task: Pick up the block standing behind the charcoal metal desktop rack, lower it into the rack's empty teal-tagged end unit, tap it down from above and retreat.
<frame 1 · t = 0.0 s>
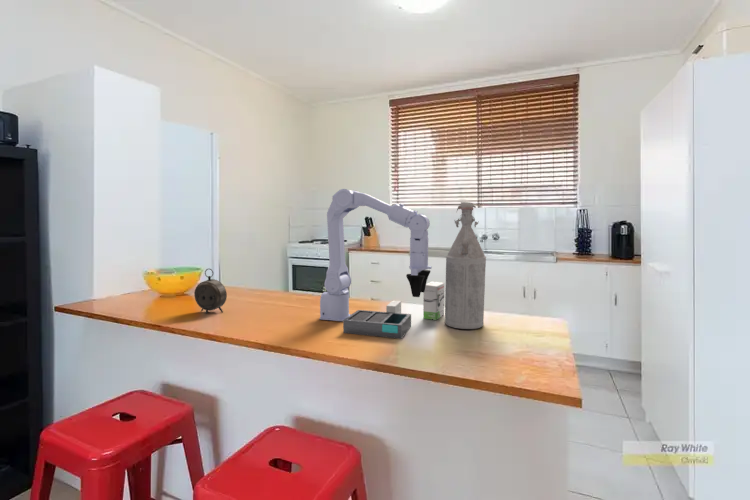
hand: (418, 294, 125), 10 cm above the countertop, fingers open, 7 cm apart
rack: (378, 329, 122), on the countertop
ink box: (433, 317, 137), on the countertop
block: (393, 320, 132), on the countertop
grey bottle: (464, 324, 128), on the countertop
alarm clock: (210, 313, 143), on the countertop
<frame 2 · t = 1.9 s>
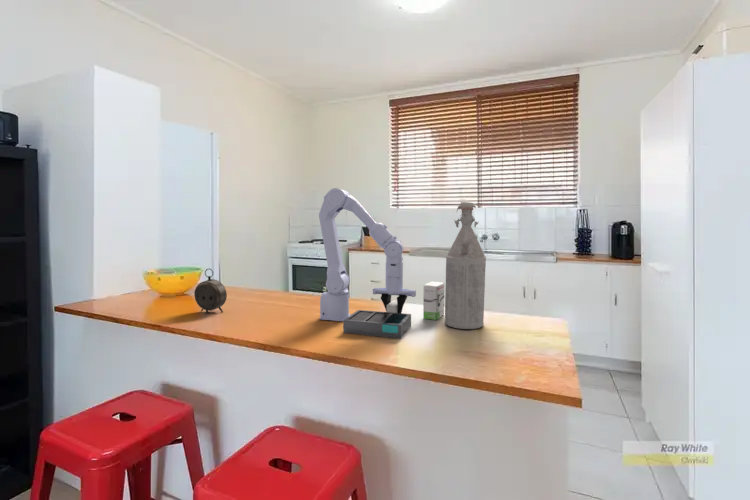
hand: (394, 316, 132), 1 cm above the countertop, fingers closed on block, 3 cm apart
block: (394, 320, 132), on the countertop, touching gripper
everything else where it was.
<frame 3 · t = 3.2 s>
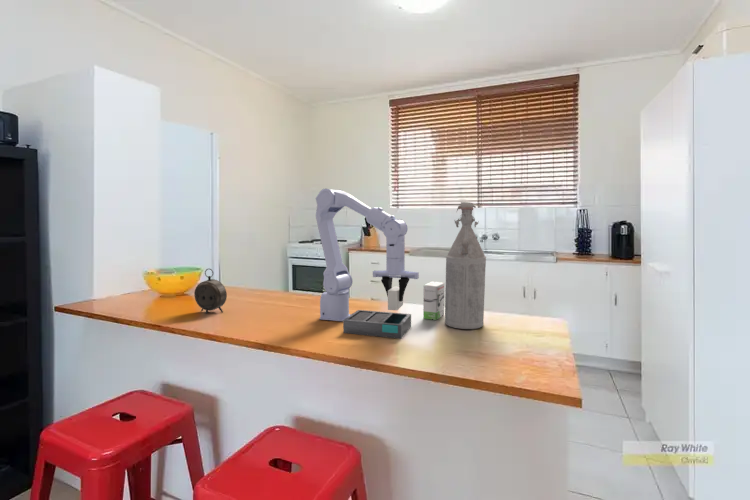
hand: (395, 300, 124), 8 cm above the countertop, fingers closed on block, 3 cm apart
block: (395, 307, 125), point 6 cm above the countertop, touching gripper
everything else where it was.
when the fingers open (4 cm above the countertop, at t = 4.6 s): block stays where it is, resting on rack.
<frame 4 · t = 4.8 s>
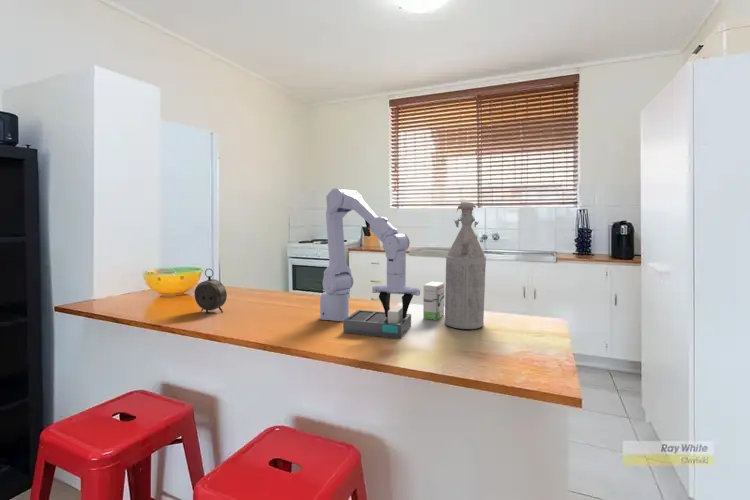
hand: (395, 317, 119), 4 cm above the countertop, fingers open, 5 cm apart
block: (396, 327, 120), point 1 cm above the countertop, touching rack
everything else where it was.
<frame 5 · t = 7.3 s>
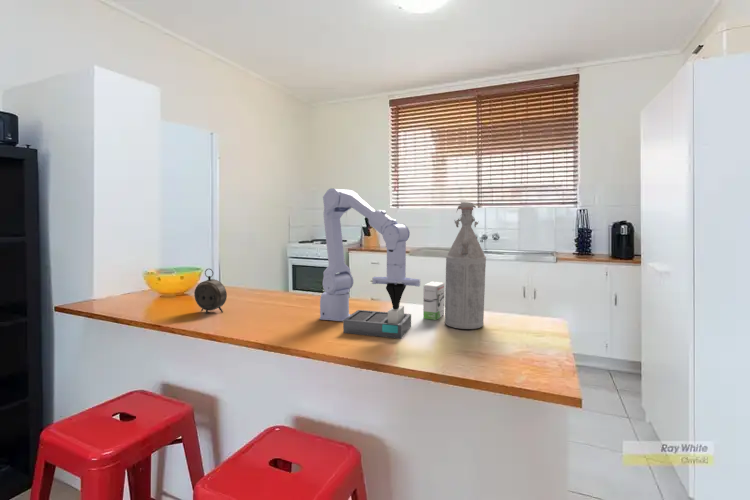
hand: (395, 308, 119), 7 cm above the countertop, fingers closed
nothing on the countertop moved.
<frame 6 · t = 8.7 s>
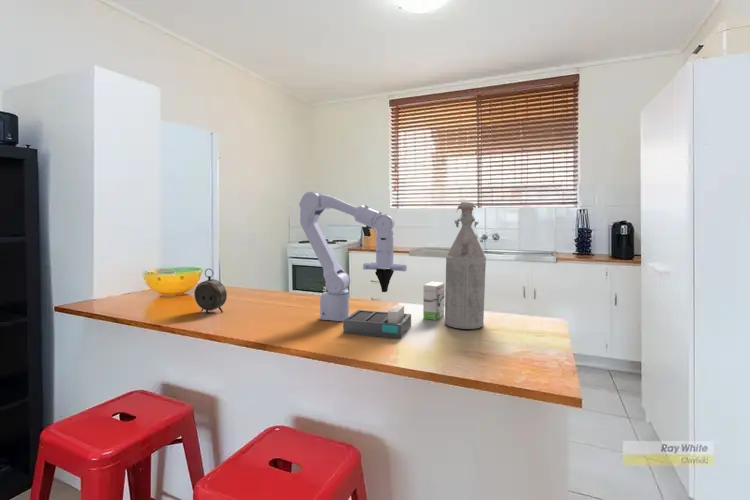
hand: (384, 291, 131), 10 cm above the countertop, fingers closed
nothing on the countertop moved.
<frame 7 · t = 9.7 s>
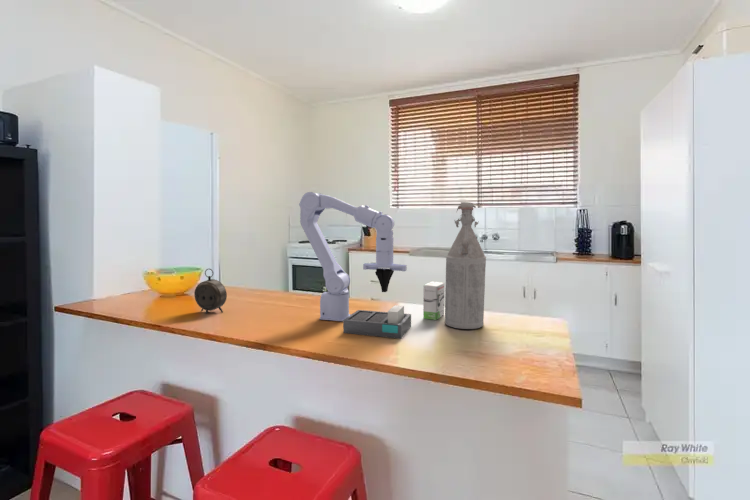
hand: (384, 291, 131), 10 cm above the countertop, fingers closed
nothing on the countertop moved.
at the end: block 0.2 cm from the target spot on the rack, point 1.1 cm above the rack's base; block tilted 0°; the gripper is holding nothing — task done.
